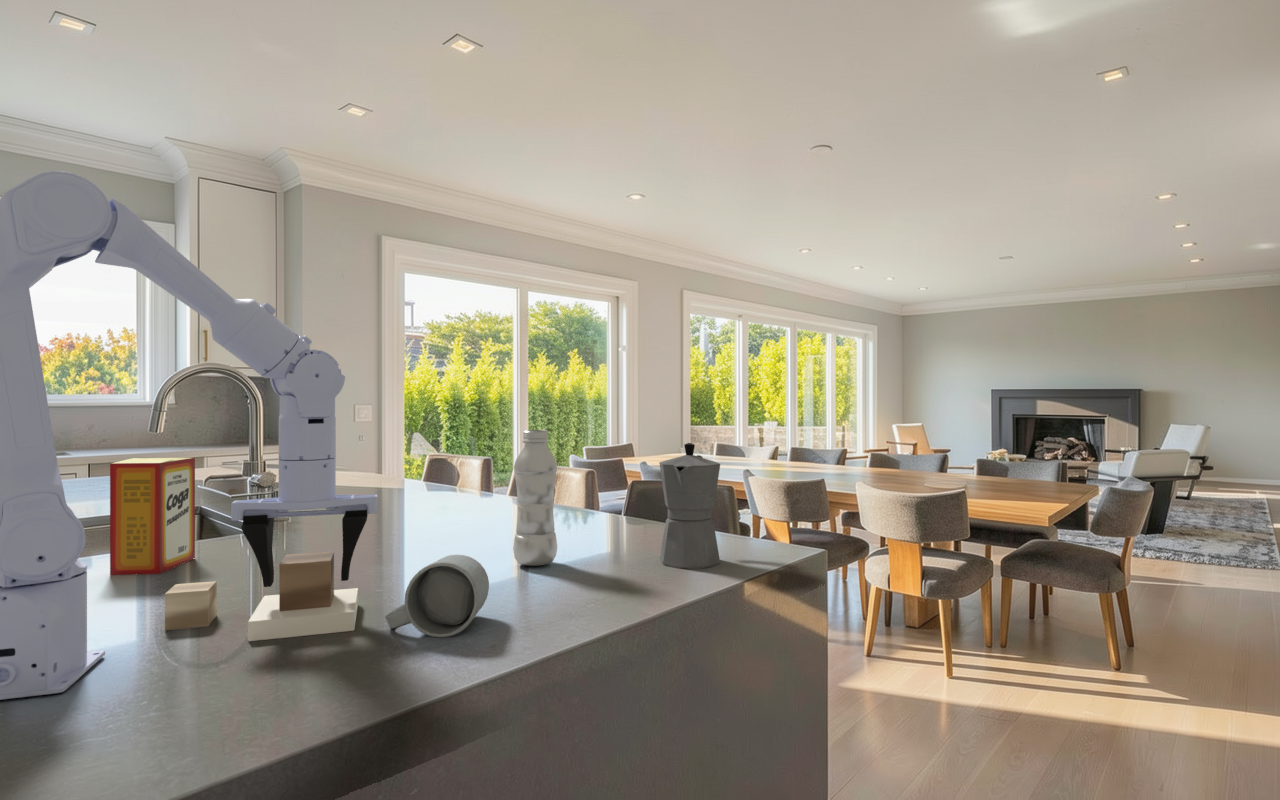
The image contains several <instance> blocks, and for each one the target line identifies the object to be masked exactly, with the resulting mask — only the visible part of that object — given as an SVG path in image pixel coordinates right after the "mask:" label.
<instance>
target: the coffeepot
mask: <svg viewBox="0 0 1280 800" xmlns="http://www.w3.org/2000/svg"><path fill="white" fill-rule="evenodd" d="M683 446H684V450H685V455H681V456H678V457H674V458H671V459H666V460H663V461H662V460H661V461H659V462H658V463H659V469H660V476H661V482H662V483H661V485H662V490H663V491H662V492H663V499H664V505H665V506H666V507H667V518H666V519H665V524H664V531H663V537H662V542H661V548H660V549H661V550H660V555H659V560H660V562H661V564H662V565H664V566H667V567H671V568H675V569H682V570H683V569H684V570H685V569H688V570H690V569H691V570H695V569H696V570H697V569H707V568H711V567H714V566H715V567H716V566H717V565H718V564H719V563H721V559H720V553H719V548H718V547H719V546H718V542H717V535H716V529H715V523H714V522H715V521H714V519H712V511H713V510H712V508H714V507H715V504H716V497H717V489H718V484H719V483H718V482H719V476H720V469H721V463H719V462H717V461H715V460H711V459H708V458H704V457H703V456H702V455H698V454H697V455H694V453H695V446H696V445H695V444H694V443H691V442H688V443H685V444H683Z"/></svg>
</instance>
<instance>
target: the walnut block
mask: <svg viewBox="0 0 1280 800" xmlns="http://www.w3.org/2000/svg"><path fill="white" fill-rule="evenodd" d="M278 569H279V571H278V572H279V578H278V579H279V580H278V581H279V582H278V583H279V585H278V586H279V588H278V589H279V593H278V595H279V611H289V610H300V609H311V608H322V607H331V604H332V600H333V597H334V590H335V551H324V552H323V551H322V552H308V553H307V552H306V553H291V554H290V553H289V554H285V555H284V557H283V558H282V560H281V561H280V563H279V568H278Z"/></svg>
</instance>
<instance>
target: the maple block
mask: <svg viewBox="0 0 1280 800" xmlns="http://www.w3.org/2000/svg"><path fill="white" fill-rule="evenodd" d="M217 584H218V582H217V581H215V580H213V581H203V582H202V581H201V582H187V583H176V584H174V585H173V586H172V587H170V589H168V591H166V592H165V593H164V631H172V630H173V631H174V630H183V629H194V628H195V629H196V628H204V627H209V626H210V624H212V622H213V621H214V619H215V618H216V617H218V616H217V614H218V613H217V612H218V607H217V603H218V602H217V600H218V598H217V594H218V593H217V591H218V589H217V588H218V585H217Z"/></svg>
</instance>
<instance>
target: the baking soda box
mask: <svg viewBox="0 0 1280 800" xmlns="http://www.w3.org/2000/svg"><path fill="white" fill-rule="evenodd" d="M195 488H196V458H195V457H147V458H144V457H143V458H142V457H137V458H136V457H133V458H128V459H124V460H120V461H116V462H115V461H114V462H112V463H110V464H109V575H110V576H125V575H127V576H129V575H130V576H132V575H136V574H137V575H161V574H162V573H165V572H168V571H169V570H173V569H174V567H175V568H177V567H179V566H181V565H180V564H182V563H184V562H186V563H188V562H187V561H189V560H191V559H193V558H196V489H195ZM193 560H194V559H193ZM191 561H192V560H191ZM189 562H190V561H189ZM184 564H185V563H184ZM178 565H179V566H178ZM182 565H183V564H182Z"/></svg>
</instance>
